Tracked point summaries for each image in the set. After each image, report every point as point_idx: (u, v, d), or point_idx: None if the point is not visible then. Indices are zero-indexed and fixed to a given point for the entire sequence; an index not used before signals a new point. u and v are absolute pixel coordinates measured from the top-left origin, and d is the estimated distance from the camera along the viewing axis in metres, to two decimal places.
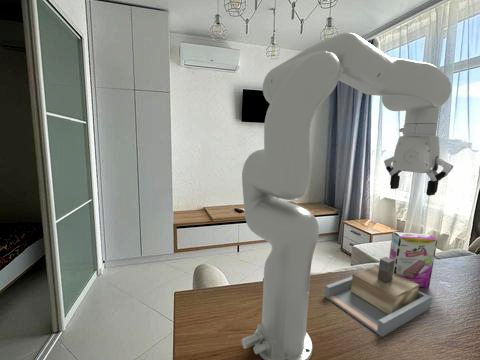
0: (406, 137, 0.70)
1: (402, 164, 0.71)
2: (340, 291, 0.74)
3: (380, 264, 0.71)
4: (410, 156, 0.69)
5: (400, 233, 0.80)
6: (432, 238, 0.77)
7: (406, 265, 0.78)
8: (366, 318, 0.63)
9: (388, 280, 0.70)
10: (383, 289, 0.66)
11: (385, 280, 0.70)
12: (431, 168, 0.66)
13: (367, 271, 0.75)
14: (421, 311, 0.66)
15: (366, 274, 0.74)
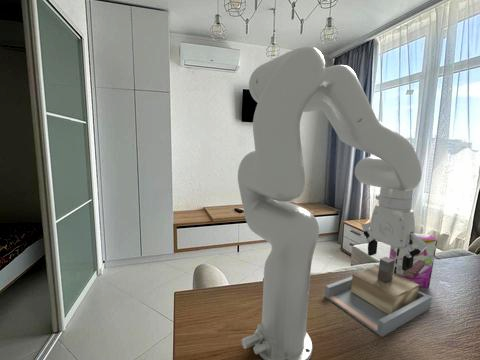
0: (381, 208, 0.69)
1: (378, 235, 0.70)
2: (340, 291, 0.74)
3: (380, 264, 0.71)
4: (385, 228, 0.68)
5: None
6: (432, 238, 0.77)
7: None
8: (366, 318, 0.63)
9: (388, 280, 0.70)
10: (383, 289, 0.66)
11: (385, 280, 0.70)
12: (406, 245, 0.64)
13: (367, 271, 0.75)
14: (421, 311, 0.66)
15: (366, 274, 0.74)
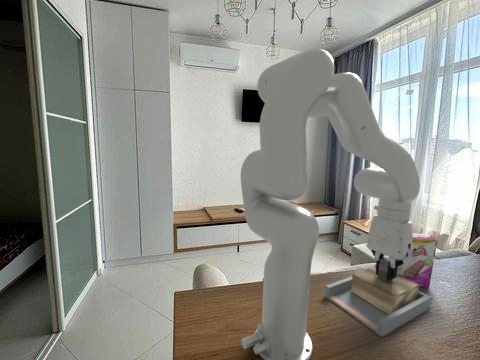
0: (380, 219, 0.69)
1: (376, 245, 0.70)
2: (340, 291, 0.74)
3: (380, 264, 0.71)
4: (383, 239, 0.68)
5: None
6: (432, 238, 0.77)
7: (406, 265, 0.78)
8: (366, 318, 0.63)
9: (388, 280, 0.70)
10: (383, 289, 0.66)
11: (385, 280, 0.70)
12: (403, 256, 0.65)
13: (367, 271, 0.75)
14: (421, 311, 0.66)
15: (366, 274, 0.74)
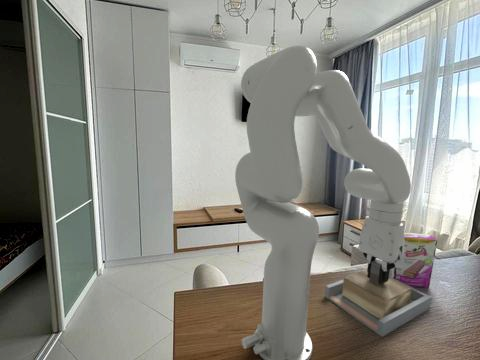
0: (371, 221, 0.67)
1: (367, 247, 0.68)
2: (340, 291, 0.74)
3: (372, 267, 0.69)
4: (374, 241, 0.66)
5: None
6: (432, 238, 0.77)
7: (406, 265, 0.78)
8: (366, 318, 0.63)
9: None
10: (374, 293, 0.64)
11: (377, 283, 0.68)
12: (395, 259, 0.63)
13: (359, 274, 0.74)
14: (421, 311, 0.66)
15: (357, 277, 0.72)
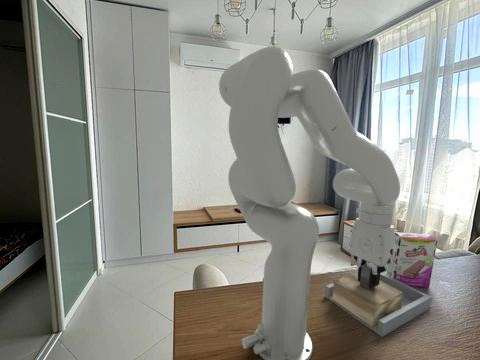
0: (361, 223, 0.65)
1: (357, 250, 0.66)
2: None
3: (362, 270, 0.67)
4: (364, 244, 0.64)
5: (400, 233, 0.80)
6: (432, 238, 0.77)
7: (406, 265, 0.78)
8: None
9: None
10: (364, 297, 0.62)
11: (367, 287, 0.66)
12: (385, 262, 0.61)
13: (349, 277, 0.72)
14: (421, 311, 0.66)
15: (347, 280, 0.70)
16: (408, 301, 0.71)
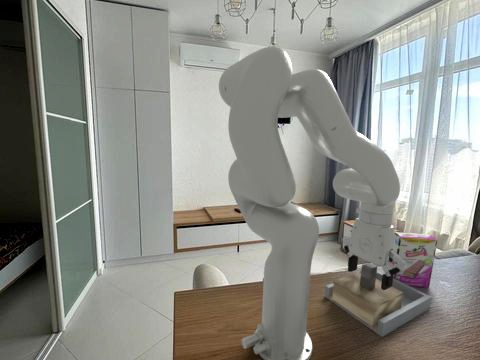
0: (361, 223, 0.65)
1: (357, 250, 0.66)
2: None
3: (362, 270, 0.67)
4: (364, 244, 0.64)
5: (400, 233, 0.80)
6: (432, 238, 0.77)
7: None
8: None
9: (370, 287, 0.66)
10: (364, 297, 0.62)
11: (367, 287, 0.66)
12: (385, 262, 0.61)
13: (349, 277, 0.72)
14: (421, 311, 0.66)
15: (347, 280, 0.70)
16: (408, 301, 0.71)
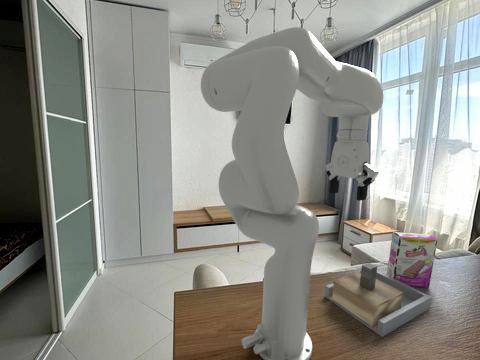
0: (339, 143, 0.71)
1: (336, 169, 0.73)
2: None
3: (362, 270, 0.67)
4: (342, 161, 0.71)
5: (400, 233, 0.80)
6: (432, 238, 0.77)
7: (406, 265, 0.78)
8: None
9: (370, 287, 0.66)
10: (364, 297, 0.62)
11: (367, 287, 0.66)
12: (359, 174, 0.67)
13: (349, 277, 0.72)
14: (421, 311, 0.66)
15: (347, 280, 0.70)
16: (408, 301, 0.71)
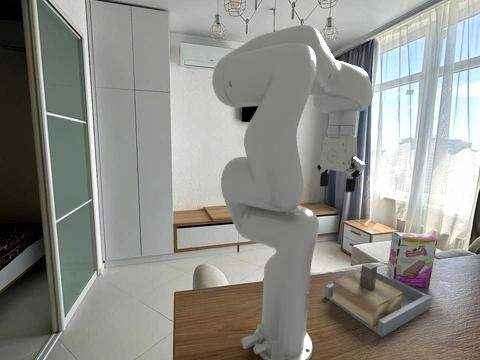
0: (329, 138, 0.75)
1: (326, 163, 0.76)
2: None
3: (362, 270, 0.67)
4: (332, 155, 0.74)
5: (400, 233, 0.80)
6: (432, 238, 0.77)
7: (406, 265, 0.78)
8: None
9: (370, 287, 0.66)
10: (364, 297, 0.62)
11: (367, 287, 0.66)
12: (348, 167, 0.71)
13: (349, 277, 0.72)
14: (421, 311, 0.66)
15: (347, 280, 0.70)
16: (408, 301, 0.71)
